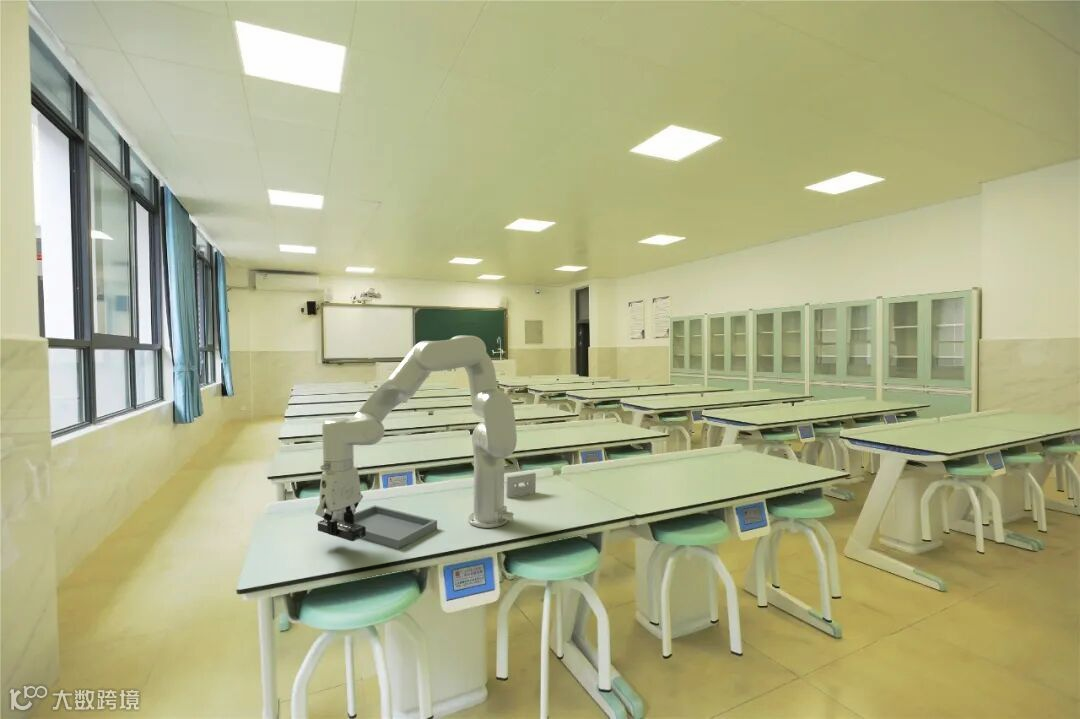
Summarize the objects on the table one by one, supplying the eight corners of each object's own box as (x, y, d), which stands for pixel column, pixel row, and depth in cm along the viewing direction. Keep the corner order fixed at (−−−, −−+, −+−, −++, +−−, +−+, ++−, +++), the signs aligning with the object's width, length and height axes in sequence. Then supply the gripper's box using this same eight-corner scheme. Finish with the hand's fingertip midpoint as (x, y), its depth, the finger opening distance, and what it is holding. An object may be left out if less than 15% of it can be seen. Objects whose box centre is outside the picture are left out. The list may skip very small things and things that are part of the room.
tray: (437, 528, 141) (437, 520, 141) (398, 549, 127) (398, 540, 127) (374, 512, 153) (374, 505, 153) (333, 530, 139) (333, 521, 139)
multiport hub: (331, 524, 132) (330, 516, 132) (366, 535, 125) (366, 526, 125) (317, 530, 128) (316, 522, 128) (352, 541, 121) (352, 532, 121)
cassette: (507, 498, 169) (507, 477, 169) (505, 497, 171) (505, 476, 170) (536, 493, 175) (536, 473, 175) (533, 492, 177) (534, 472, 176)
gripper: (320, 475, 116) (323, 546, 117) (373, 458, 131) (375, 522, 132) (301, 471, 120) (303, 540, 121) (354, 455, 135) (356, 517, 136)
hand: (341, 530), depth 127 cm, fingers closed on multiport hub, 4 cm apart
